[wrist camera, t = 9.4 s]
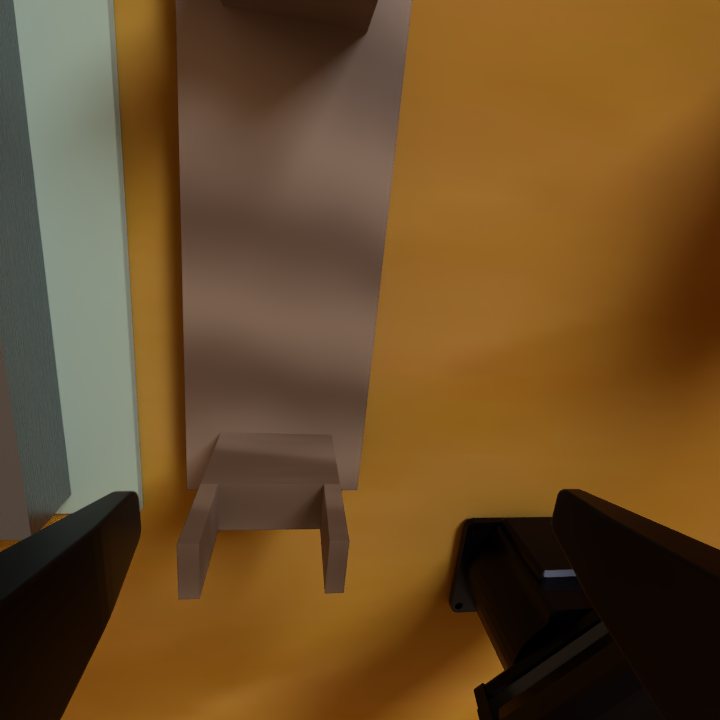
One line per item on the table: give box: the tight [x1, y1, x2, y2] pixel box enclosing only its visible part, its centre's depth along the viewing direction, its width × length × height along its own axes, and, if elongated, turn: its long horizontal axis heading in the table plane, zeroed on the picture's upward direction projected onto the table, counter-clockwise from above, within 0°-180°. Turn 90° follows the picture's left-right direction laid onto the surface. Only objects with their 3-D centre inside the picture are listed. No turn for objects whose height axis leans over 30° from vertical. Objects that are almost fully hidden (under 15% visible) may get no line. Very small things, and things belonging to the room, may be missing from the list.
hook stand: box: [176, 0, 412, 600], centre depth 14 cm, size 22×8×8 cm, turn 174°
